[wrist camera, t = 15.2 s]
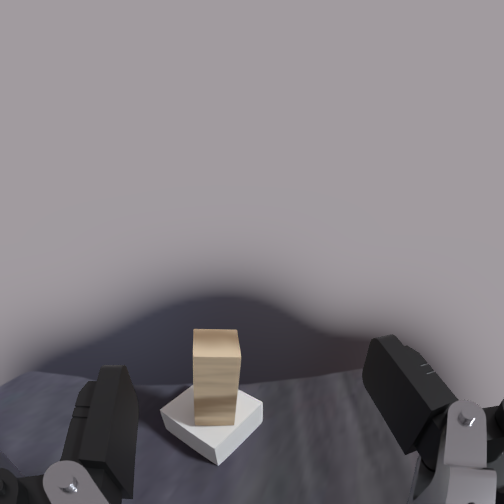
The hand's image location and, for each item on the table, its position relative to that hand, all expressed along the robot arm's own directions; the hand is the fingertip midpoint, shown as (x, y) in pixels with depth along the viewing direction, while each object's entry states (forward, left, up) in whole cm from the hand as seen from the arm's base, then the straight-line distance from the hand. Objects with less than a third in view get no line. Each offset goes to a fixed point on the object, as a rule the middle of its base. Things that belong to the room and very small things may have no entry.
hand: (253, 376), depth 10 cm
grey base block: (-12, +18, -32) cm, 39 cm away
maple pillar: (-12, +17, -27) cm, 34 cm away
